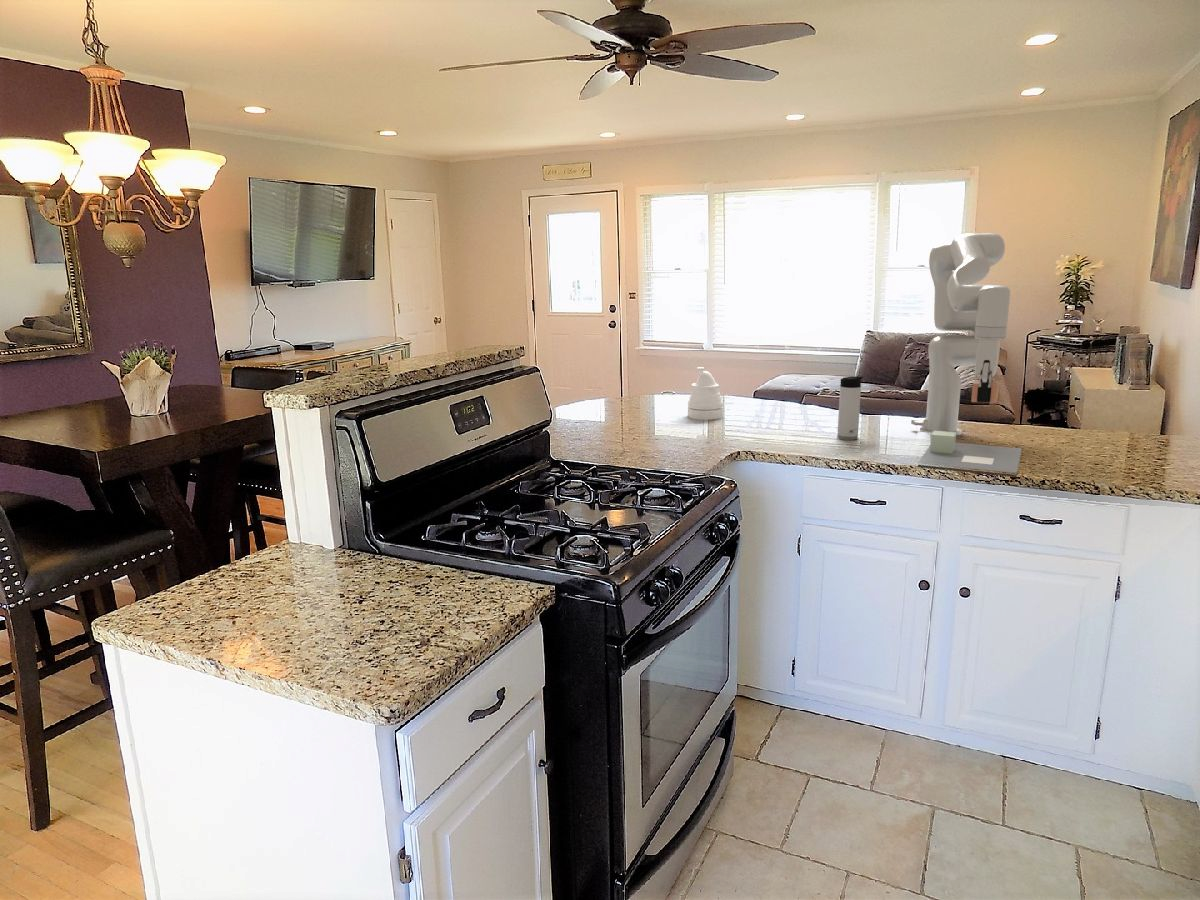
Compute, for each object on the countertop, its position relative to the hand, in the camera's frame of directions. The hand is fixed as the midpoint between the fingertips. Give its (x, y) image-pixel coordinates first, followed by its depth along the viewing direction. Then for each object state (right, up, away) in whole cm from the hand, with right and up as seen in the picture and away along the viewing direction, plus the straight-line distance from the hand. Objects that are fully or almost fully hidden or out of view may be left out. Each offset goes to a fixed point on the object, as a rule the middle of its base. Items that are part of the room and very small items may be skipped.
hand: (984, 399), depth 213 cm
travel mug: (-25, -10, +38) cm, 47 cm away
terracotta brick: (0, 0, 0) cm, 0 cm away
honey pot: (-65, -1, +77) cm, 101 cm away
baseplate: (+1, -16, +9) cm, 19 cm away
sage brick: (-5, -14, +15) cm, 21 cm away
